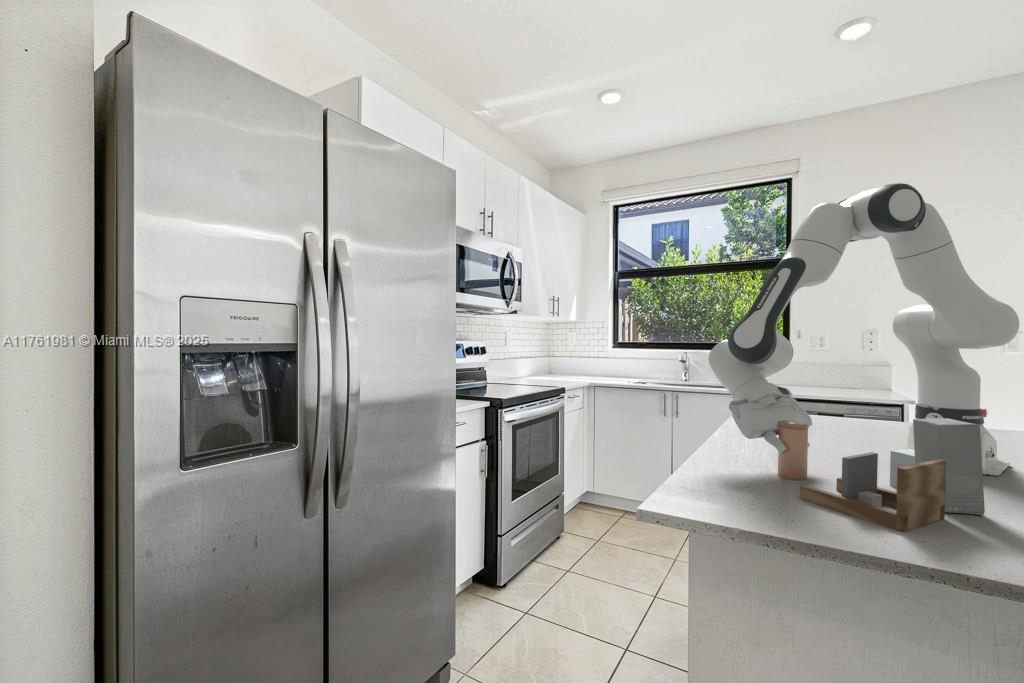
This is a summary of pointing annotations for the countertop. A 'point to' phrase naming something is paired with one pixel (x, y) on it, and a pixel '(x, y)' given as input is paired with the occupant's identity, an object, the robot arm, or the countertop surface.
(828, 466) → the countertop surface
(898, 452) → the skincare box
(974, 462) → the skincare box
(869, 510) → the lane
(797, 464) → the jar
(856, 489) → the pusher
